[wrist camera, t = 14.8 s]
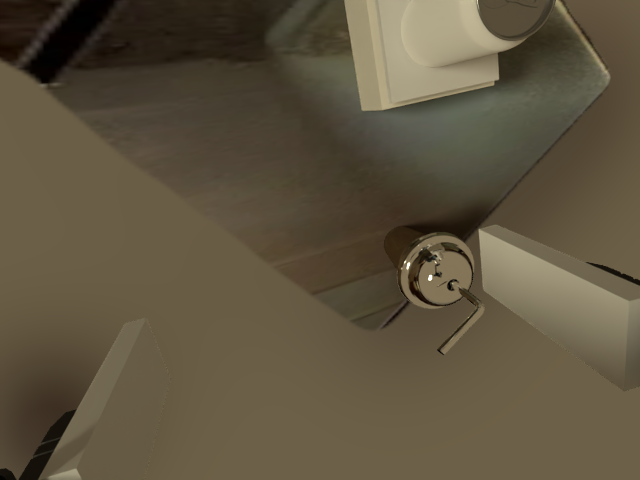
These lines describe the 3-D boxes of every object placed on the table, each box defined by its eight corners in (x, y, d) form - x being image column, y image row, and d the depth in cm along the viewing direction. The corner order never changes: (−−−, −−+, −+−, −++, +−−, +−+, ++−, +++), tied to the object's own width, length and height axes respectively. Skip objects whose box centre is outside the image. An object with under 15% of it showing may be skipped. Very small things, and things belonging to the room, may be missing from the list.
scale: (342, -8, 42) (367, -37, 34) (456, -29, 43) (505, -62, 35) (361, 110, 46) (387, 109, 38) (465, 87, 47) (511, 82, 39)
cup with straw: (435, 264, 54) (539, 344, 35) (370, 282, 53) (442, 375, 34) (427, 203, 51) (536, 255, 32) (359, 221, 50) (431, 285, 31)
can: (401, -14, 35) (478, -76, 24) (469, -9, 36) (573, -64, 25) (396, 66, 37) (464, 45, 26) (460, 69, 38) (553, 50, 27)
